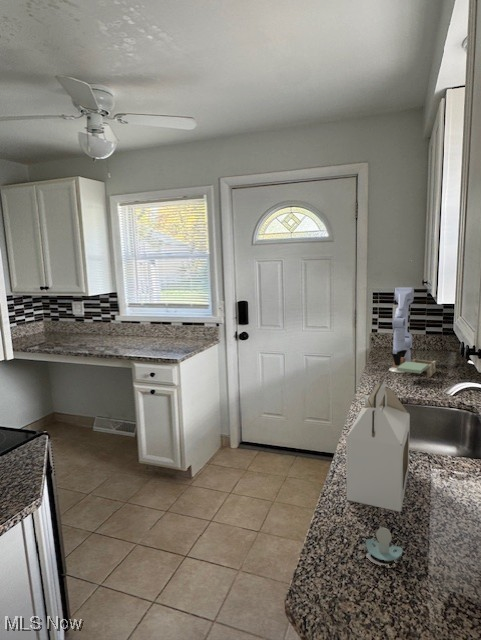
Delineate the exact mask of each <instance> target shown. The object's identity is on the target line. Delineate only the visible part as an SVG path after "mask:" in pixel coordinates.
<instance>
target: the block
mask: <svg viewBox="0 0 481 640" xmlns="http://www.w3.org/2000/svg"><path fill="white" fill-rule="evenodd" d="M404 362H406V358H405V357H401V360H400V365H401V364H403V363H404ZM400 365H399V366H400ZM399 366H397V365H395V363H394V359H393V358H392V367H393V368H397V367H399Z"/></svg>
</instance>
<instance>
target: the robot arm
mask: <svg viewBox="0 0 481 640" xmlns="http://www.w3.org/2000/svg"><path fill="white" fill-rule="evenodd" d="M414 289H415V288H414V287H395V288H394V297H395V302H396V303H398V304H397V305H398V306H397V307H396V308H395V312H394V317H393V318H392V332H393V340H392V344H393V347H392V351H391V353H390V354H391V356H392V360H393V359H394V363H395V365H397V366H399V365H400V360H401V357H405V358H406V361H407V362H410V361H411V360H412V359H411V358H412V357H411V356H412V355H411V354H412V351H411V348H412V347H413V335H412V333H410V332H409V331H408V325H409V307H410V304H412V303H413V302H414V295H415V290H414Z"/></svg>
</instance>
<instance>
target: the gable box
mask: <svg viewBox="0 0 481 640" xmlns="http://www.w3.org/2000/svg"><path fill="white" fill-rule="evenodd" d="M369 395H370V396H369V398H368V403H367V404H366V405H365V404H364V407H362V408H361V410H360V411H359V413H358V415H357V417H356V419H355V420H354V422H353V424H352V426H351V427H350V429H349V431H348V433H347V435H346V437H345V438H346V439H345V442H346V443H345V445H346V447H345V448H346V450H345V451H346V452H345V454H346V455H345V457H346V458H345V459H346V461H345V462H346V464H345V465H346V468H345V469H346V472H345V473H346V500H347V501H349V502H354V503H357V504H358V503H360V504H363V505H367V506H368V505H369V506H371V507H377V508H381V509H386V510H390V511H394V512H402V510H403V503H404V497H405V492H406V487H407V483H408V477H409V472H410V470H409V469H410V428H411V427H410V426H411V425H410V421H411V419H410V418H411V417H410V415H411V414H410V413H409V412H408V410H407V409H406V408H405V406H404V405H403V404H402V402H401V401H400V399H399V398H398V397H397V395H396V394H395V391H393V390H392V389H391V388H389V387H387V386H386V379H385V378H382V380H381V383H379V381H377V382H376V383H375V385H374V387H373V389H372V391H371V393H370V394H369ZM386 398H387V406H386Z"/></svg>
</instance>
